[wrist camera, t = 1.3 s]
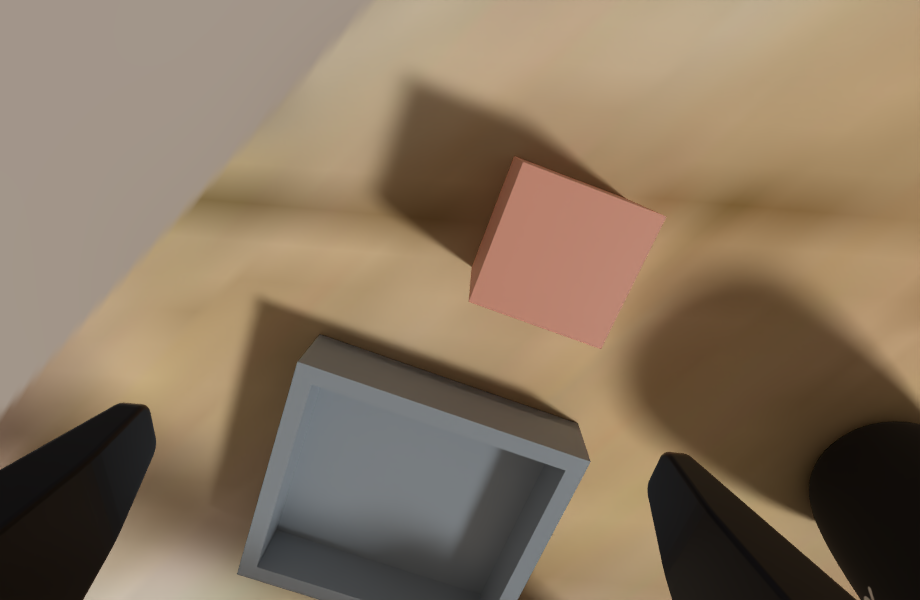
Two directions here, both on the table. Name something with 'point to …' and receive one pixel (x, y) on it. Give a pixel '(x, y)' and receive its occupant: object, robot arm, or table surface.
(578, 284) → the red block
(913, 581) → the mug
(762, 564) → the robot arm
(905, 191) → the table surface
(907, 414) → the table surface
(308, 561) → the tray
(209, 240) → the table surface
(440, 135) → the table surface
